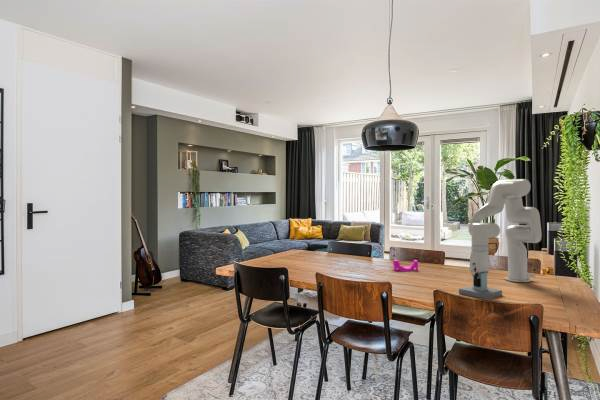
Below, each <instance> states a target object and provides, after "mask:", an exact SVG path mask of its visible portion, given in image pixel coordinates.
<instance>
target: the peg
mask: <svg viewBox="0 0 600 400" xmlns="http://www.w3.org/2000/svg"><path fill="white" fill-rule="evenodd" d="M476 274H477V275H478V273H476ZM472 278H473V277H472ZM479 279H481V287H476V286H474V278H473V280H472V286H473V290H478V291H487V288H488V274H487V273H485V272H480V278H479Z"/></svg>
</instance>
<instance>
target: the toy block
mask: <svg viewBox="0 0 600 400" xmlns="http://www.w3.org/2000/svg"><path fill="white" fill-rule="evenodd" d="M393 270H394V271H395V272H412V271H419V261H418V260H417V259H414V260H413V262H412V264H411V265H409V266H402V265H401V264H400V261H399V259H393Z"/></svg>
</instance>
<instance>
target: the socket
mask: <svg viewBox="0 0 600 400" xmlns="http://www.w3.org/2000/svg"><path fill="white" fill-rule="evenodd" d="M458 294H459V295H463V296H469V297H472V298H477V299H481V300H485V299H487V300H492V299H494V298H498V297H501V296H503V290H501V289H497V288H493V287H487V291H478V290H473V285H469V286H465V287H464V286H463V287H460V288H458Z"/></svg>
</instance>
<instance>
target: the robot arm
mask: <svg viewBox="0 0 600 400" xmlns="http://www.w3.org/2000/svg"><path fill="white" fill-rule="evenodd" d="M531 186H532V185H531V183H530V181H529V179H526V178H517V179H516V178H515V179H512V178H511V179H500V180H497V181H496V182H495V183H493V184H492V185H491V188H490V191H489V193H488V195H487V198H486V202H485V204H484V205H483V206H482V207H480V208H479V209H477V210H476V211H475V212H474V213H473V215H472V216H471V219H470V221H469V224H468V233H469V235H470V236H471V252H470V257H469V271H470V274H471V275H472V278H474V286H476V287H481V279H479V278H480V272H485V273H487V275H488V273H489V271H490V256H489V238H490V239H495V238H498V236H499V235H500V233H501V228H500V226H499V224H497V223H493V222H484V221H483V220H485V219H486V218H488V217H489V218H490V217H492V216H494V215H497V214H499V213H501V212H502V211H504V208H505V211H506V212H505V213H506V219H507V221H508V223H511V224H513V225H509V226H507V227H506V229H505V237H506V242H507V244H506V245H507V276H505V277H504V280H506V281H509V282H515V283H529V282H531V279H530V278H536V274H535V273H530V272H528V250H527V248H526V245H524V243H527V244H528V243H531V244H538V243H540V242H541V241H542V226H541V224H542V223H541V216H540V212H539V209H537V208H536V207H534V206H524V205H523V204H524V203H523V198H522V197H524V196H527V195H528V194H529V193H530V191H531ZM482 221H483V222H482ZM522 224H523V225H522ZM476 273H478V275H477V274H476Z"/></svg>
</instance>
